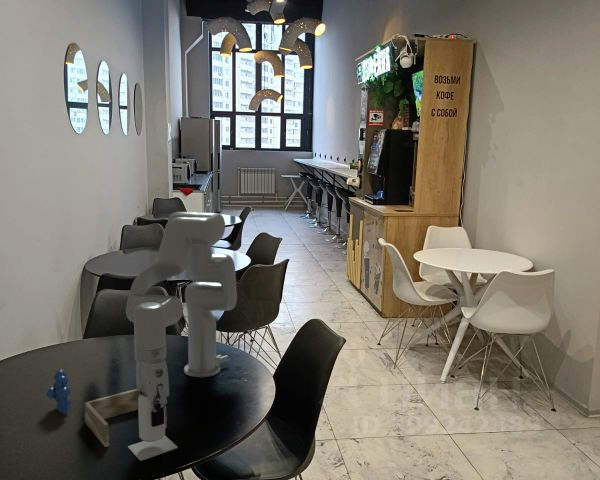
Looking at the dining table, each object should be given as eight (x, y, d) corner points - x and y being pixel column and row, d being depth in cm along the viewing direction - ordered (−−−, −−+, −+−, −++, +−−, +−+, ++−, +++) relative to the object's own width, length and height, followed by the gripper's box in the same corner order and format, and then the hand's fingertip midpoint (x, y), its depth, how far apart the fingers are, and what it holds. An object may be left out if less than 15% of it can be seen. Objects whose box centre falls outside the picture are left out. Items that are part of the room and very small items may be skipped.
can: (158, 443, 136) (157, 398, 135) (134, 440, 138) (133, 395, 136) (169, 431, 143) (168, 387, 141) (146, 428, 144) (145, 385, 142)
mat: (163, 435, 147) (163, 434, 147) (177, 448, 141) (177, 446, 141) (127, 447, 141) (127, 446, 141) (140, 461, 134) (140, 459, 134)
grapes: (43, 405, 162) (41, 367, 160) (68, 400, 166) (66, 363, 164) (50, 422, 153) (47, 381, 151) (75, 416, 156) (74, 376, 154)
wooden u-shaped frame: (143, 406, 163) (142, 387, 162) (166, 427, 151) (166, 407, 150) (84, 422, 153) (83, 402, 152) (105, 447, 140) (104, 425, 140)
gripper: (180, 359, 132) (181, 428, 135) (150, 339, 146) (151, 403, 148) (150, 366, 128) (152, 438, 131) (122, 345, 141) (124, 411, 144)
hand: (152, 419), depth 139 cm, fingers closed on can, 6 cm apart
